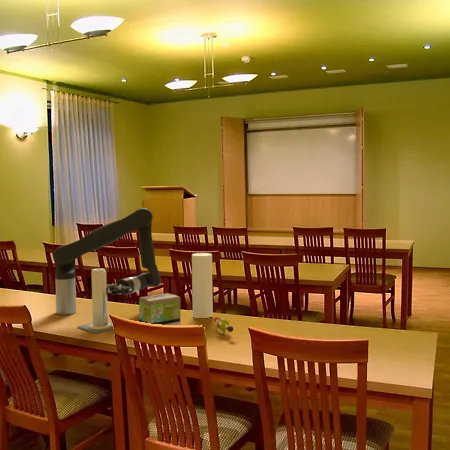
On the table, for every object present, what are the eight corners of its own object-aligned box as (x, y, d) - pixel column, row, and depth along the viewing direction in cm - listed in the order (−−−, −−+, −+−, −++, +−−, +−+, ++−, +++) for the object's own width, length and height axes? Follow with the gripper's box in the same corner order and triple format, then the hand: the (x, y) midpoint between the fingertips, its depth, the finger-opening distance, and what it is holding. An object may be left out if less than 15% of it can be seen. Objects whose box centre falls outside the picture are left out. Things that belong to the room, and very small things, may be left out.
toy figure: (209, 329, 219) (209, 313, 218) (221, 327, 221) (221, 312, 220) (224, 340, 202) (224, 324, 201) (237, 339, 204) (237, 322, 203)
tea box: (151, 336, 209) (150, 301, 208) (138, 331, 217) (138, 297, 216) (181, 329, 219) (180, 295, 218) (168, 324, 226) (167, 292, 225)
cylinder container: (215, 317, 237) (214, 254, 235) (196, 319, 234) (195, 255, 232) (208, 313, 246) (207, 251, 244) (190, 315, 243) (189, 252, 240)
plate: (77, 327, 223) (77, 325, 223) (105, 321, 233) (105, 319, 233) (94, 333, 213) (94, 332, 213) (122, 327, 223) (122, 325, 223)
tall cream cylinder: (104, 327, 219) (102, 270, 217) (90, 327, 221) (88, 270, 219) (110, 323, 226) (109, 268, 224) (96, 323, 227) (95, 267, 225)
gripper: (116, 276, 242) (92, 282, 228) (140, 279, 235) (116, 285, 221) (117, 292, 243) (93, 298, 229) (140, 294, 236) (117, 302, 222)
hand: (104, 292), depth 225 cm, fingers open, 8 cm apart
